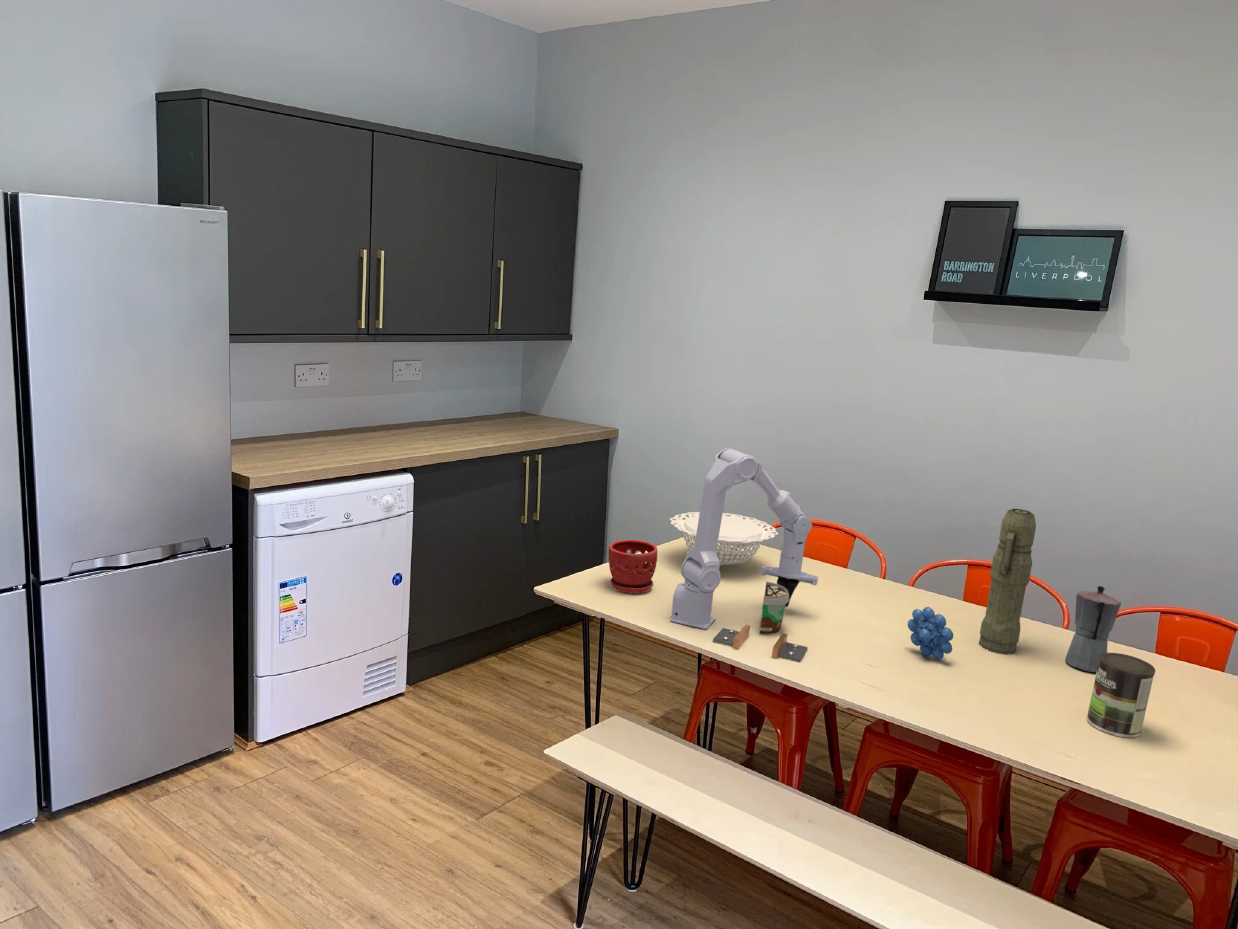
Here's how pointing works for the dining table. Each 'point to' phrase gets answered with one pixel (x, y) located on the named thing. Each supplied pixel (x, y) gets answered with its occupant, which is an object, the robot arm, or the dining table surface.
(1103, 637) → the moka pot
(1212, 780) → the dining table surface
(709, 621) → the robot arm
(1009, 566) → the thermos
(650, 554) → the plant pot
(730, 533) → the white lattice basket
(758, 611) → the dining table surface
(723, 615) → the dining table surface
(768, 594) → the food container
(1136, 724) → the coffee can
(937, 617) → the grapes
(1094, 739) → the dining table surface
